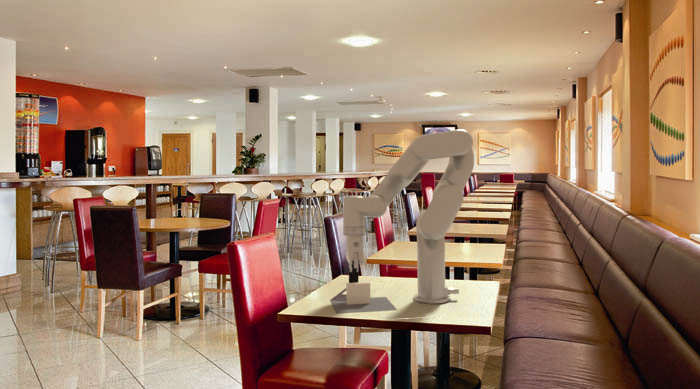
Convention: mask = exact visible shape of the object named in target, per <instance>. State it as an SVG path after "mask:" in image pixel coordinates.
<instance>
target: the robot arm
mask: <svg viewBox="0 0 700 389" xmlns="http://www.w3.org/2000/svg"><path fill="white" fill-rule="evenodd" d="M472 136H473V135H472V134H470V132H469V131H468V130H466V129H452V130H447V131H446V130H445V131H441V132H435V133H426V134H421V135H418V136H417V137H416V138H414V140H412V141H411V143H410V144H409V146H408V147H407V148H406V149H405V151H403V153H402V154H401V156H399V158H398V159H397V161H395V163H394V164H393V165H392V167H391V168H390V169H389V170H388V172H387V173H386V175H385V177H384V178H382V181H380V183H379V184H378V185H377V186H376V188H374V190H373V191H372V192H371V194H370V195H369V196H362V195H346V196H344V198H343V211H342V212H343V215H342V217H343V218H342V219H343V220H342V222H343V223H342V224H343V225H342V227H343V228H342V230H343V232H342V235H343V236H345V238H346V239H345V254H346V256H345V257H346V261H347V263H348V283H359V278H360V277H359V276H360V275H359V272H360V271H359V264H360V265H363V264H364V240H363V237H364V236H365V235H366V234H365V233H366V232H365V229H366V228H365V226H366V218H367V217H369V218H375V219H376V218H381V217H383V216H384V215H385V214H386V212H387V210H388V207H389V206H390V205H391V203H392V202H393V201H394V200H395V198H396V197H397V196H398V195H399V194H400V193H401V192H402V191H403V190H404V189H405V188H407V187H408V186H409V185H410V184H411V183H412V182H413V181H414V180H415V178H416V177H417V176H418V175H419V173H420V172H421V171H422V170H423V168H424V167H426V165H427V164H428V162H429V161H430V160H437V159H443V158H449V159H448V160H449V161H448V164H447V166H446V168H445V169H444V172H443V173H442V176H441V178H440V180H439V181H438V182H437V185H435V187H434V189H433V191H432V196H431V197H432V198H431V201H430V202H429V204H428V206H427V208H426V209H425V210H423V211H421V212H420V214H418V217H417V219H416V223H415V224H416V225H415V226H416V228H415V229H416V247H417V249H416V252H417V254H416V255H417V256H416V259H417V260H416V262H417V264H416V265H417V266H416V267H417V268H416V269H417V293H415V294H413V297H412V298H413V301H415V302H417V303H420V304H429V305H430V304H431V305H434V304H436V305H437V304H444V303H447V302H449V301H450V300H451V296H450V295H451V294H452V295H458V294H459V293H460V291H459V289H460V288H458V287H457V288H456V287H455V288H453V287H447V286H446V244H445V242H446V240H445V236H446V234H447V232H448V231H449V230H450V227H451V226H452V224H453V223H454V220H455V218H456V216H458V213H459V211H460V209H461V208H462V206H463V202H464V192H463V191H464V190H465V187H466V185H467V184H468V181H469V179H470V177H471V175H472V173H473V170H474V165H475V155H474V150H473V145H474V144H473V143H474V141H473V137H472Z"/></svg>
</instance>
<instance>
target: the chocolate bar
mask: <svg viewBox="0 0 700 389" xmlns="http://www.w3.org/2000/svg"><path fill="white" fill-rule="evenodd" d="M330 300H338V301H346V288H344V289H343V290H342V291H340V292H339V293H338V294H335V296H333V297H332V298H331V299H330Z"/></svg>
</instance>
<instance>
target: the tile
mask: <svg viewBox="0 0 700 389" xmlns="http://www.w3.org/2000/svg"><path fill="white" fill-rule="evenodd" d="M345 283H346V284H345V287H346V301H347V305H350V304H368V303H370V298H371V282H370V281H367V282H358V283H349V282H345Z"/></svg>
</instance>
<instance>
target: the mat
mask: <svg viewBox="0 0 700 389" xmlns="http://www.w3.org/2000/svg"><path fill="white" fill-rule="evenodd" d="M329 301H330V303H331V305H332V307H333V310H334V311H335V314H337V315H338V314H352V313H354V314H355V313H372V312H388V311H398V309H397V307H395V306H394V304H393V303H392V302H391V301H390V300H389V299H388V298H387V296H379V297H377V296H376V297H370V303H368V304H350V305H347V301H338V300H331V299H329Z"/></svg>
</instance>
